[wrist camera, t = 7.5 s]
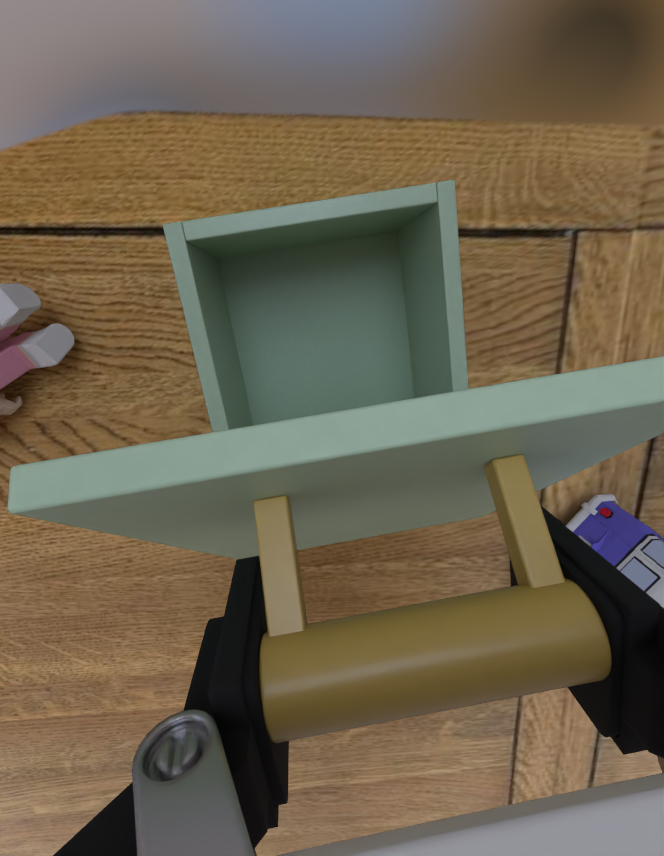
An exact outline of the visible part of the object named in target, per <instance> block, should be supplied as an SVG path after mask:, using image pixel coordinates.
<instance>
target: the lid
mask: <svg viewBox="0 0 664 856" xmlns="http://www.w3.org/2000/svg"><path fill="white" fill-rule="evenodd" d="M662 433H664V356H662V357H656V358H650V359H644V360H638V361H632V362H627V363H621V364H615V365H609V366H603V367H597V368H591V369H585V370H579V371H573V372H567V373H561V374H555V375H550V376H544V377H538V378H532V379H526V380H520V381H514V382H508V383H502V384H496V385H490V386H484V387H478V388H473V389H467V390H461V391H455V392H449V393H443V394H437V395H431V396H425V397H419V398H413V399H407V400H401V401H396V402H390V403H384V404H378V405H372V406H366V407H360V408H354V409H348V410H342V411H336V412H330V413H324V414H319V415H313V416H307V417H301V418H295V419H289V420H283V421H277V422H271V423H265V424H259V425H253V426H247V427H242V428H236V429H230V430H224V431H218V432H212V433H206V434H200V435H194V436H188V437H182V438H176V439H170V440H165V441H159V442H153V443H147V444H141V445H135V446H129V447H123V448H117V449H111V450H105V451H99V452H93V453H88V454H82V455H76V456H70V457H64V458H58V459H52V460H46V461H40V462H34V463H28V464H22V465H17V466H14V467H12V468H11V470H10V483H9V496H8V511H9V513H12V514H16V515H21V516H26V517H31V518H36V519H41V520H46V521H51V522H56V523H61V524H65V525H70V526H75V527H80V528H85V529H90V530H95V531H100V532H105V533H110V534H115V535H120V536H125V537H130V538H135V539H140V540H145V541H150V542H155V543H160V544H165V545H170V546H175V547H179V548H184V549H189V550H194V551H199V552H204V553H209V554H214V555H219V556H224V557H229V558H234V559H243V558H248V557H254V556H259V557H260V566H261V575H262V584H263V593H264V602H265V611H266V620H267V629H268V631H267V632H266V633H264V634H263V636H262V639H261V644H260V651H259V683H260V695H261V704H262V711H263V716H264V721H265V726H266V729H267V732H268V735H269V737H270V739H271V741H272V742H275V743H280V742H285V741H290V740H295V739H300V738H306V737H311V736H316V735H321V734H326V733H332V732H337V731H342V730H347V729H352V728H357V727H363V726H368V725H373V724H378V723H383V722H389V721H394V720H399V719H404V718H409V717H414V716H420V715H425V714H430V713H435V712H440V711H446V710H451V709H456V708H461V707H466V706H471V705H477V704H482V703H487V702H492V701H497V700H503V699H508V698H513V697H518V696H523V695H529V694H534V693H539V692H544V691H549V690H554V689H560V688H565V687H570V686H575V685H580V684H586V683H591V682H596V681H601V680H603V679H605V678H606V677H607V676H608V675H609V673H610V670H611V665H612V655H611V648H610V643H609V639H608V636H607V633H606V630H605V627H604V624H603V622H602V620H601V618H600V615H599V613H598V612H597V610H596V608H595V606H594V604H593V603H592V601H591V600H590V598H589V597H588V596H587V594H586V593H585V592H584V591H583V589H582V588H581V587H580V586H579V585H577V584H576V583H575V582H574V581H572V580H570V579H567V578H564V576H563V573H562V570H561V567H560V564H559V561H558V558H557V555H556V552H555V549H554V545H553V542H552V539H551V536H550V533H549V530H548V527H547V524H546V521H545V518H544V515H543V512H542V509H541V506H540V503H539V500H538V497H537V494H536V492H537V491H539V490H541V489H543V488H545V487H547V486H550V485H552V484H554V483H556V482H558V481H560V480H563V479H565V478H567V477H569V476H571V475H573V474H576V473H578V472H580V471H582V470H584V469H586V468H589V467H591V466H593V465H595V464H597V463H599V462H602V461H604V460H606V459H608V458H610V457H613V456H615V455H617V454H619V453H621V452H623V451H626V450H628V449H630V448H632V447H634V446H636V445H639V444H641V443H643V442H645V441H647V440H649V439H652V438H654V437H656V436H658V435H660V434H662ZM495 510H496V511H497V514H498V518H499V521H500V525H501V528H502V531H503V535H504V538H505V542H506V545H507V549H508V552H509V555H510V559H511V562H512V566H513V569H514V572H515V576H516V579H517V583H518V585H517V586H511V587H506V588H500V589H495V590H490V591H484V592H479V593H473V594H468V595H462V596H457V597H452V598H446V599H441V600H435V601H430V602H424V603H419V604H414V605H408V606H403V607H397V608H392V609H387V610H381V611H376V612H370V613H365V614H359V615H354V616H349V617H343V618H338V619H332V620H327V621H321V622H316V623H311V624H308V623H307V616H306V609H305V601H304V594H303V587H302V580H301V573H300V566H299V559H298V552H297V550H300V549H306V548H311V547H317V546H322V545H328V544H334V543H339V542H345V541H350V540H356V539H362V538H367V537H373V536H378V535H384V534H390V533H395V532H401V531H406V530H412V529H418V528H423V527H429V526H434V525H440V524H446V523H451V522H457V521H462V520H468V519H474V518H479V517H482V516H485V515H487V514H489V513H491V512H493V511H495Z"/></svg>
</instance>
